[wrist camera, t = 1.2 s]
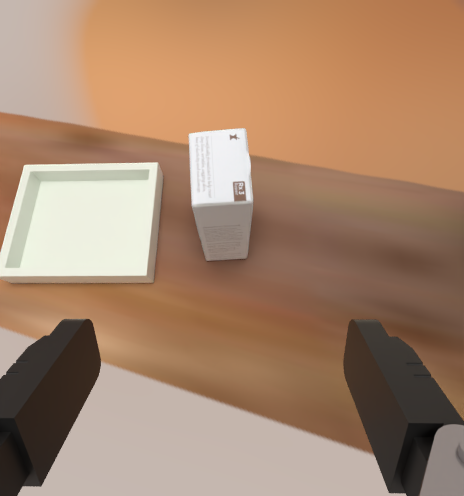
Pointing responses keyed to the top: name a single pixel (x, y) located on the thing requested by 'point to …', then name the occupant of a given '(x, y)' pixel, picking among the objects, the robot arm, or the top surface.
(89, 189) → the tray
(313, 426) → the top surface
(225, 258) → the skincare box
